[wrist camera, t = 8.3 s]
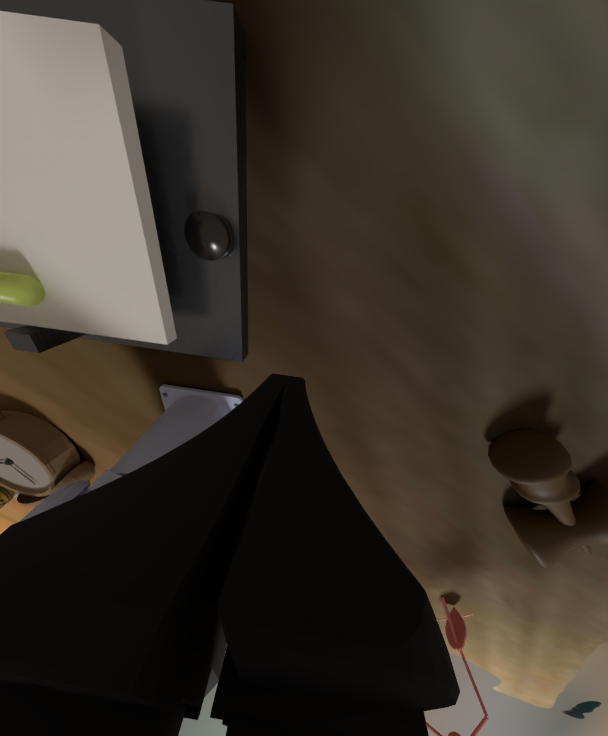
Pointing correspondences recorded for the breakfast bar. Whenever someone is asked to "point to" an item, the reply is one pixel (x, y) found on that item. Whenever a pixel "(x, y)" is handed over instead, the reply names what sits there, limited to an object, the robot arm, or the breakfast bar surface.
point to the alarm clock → (37, 458)
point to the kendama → (549, 496)
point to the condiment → (6, 495)
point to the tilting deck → (74, 187)
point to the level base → (180, 161)
